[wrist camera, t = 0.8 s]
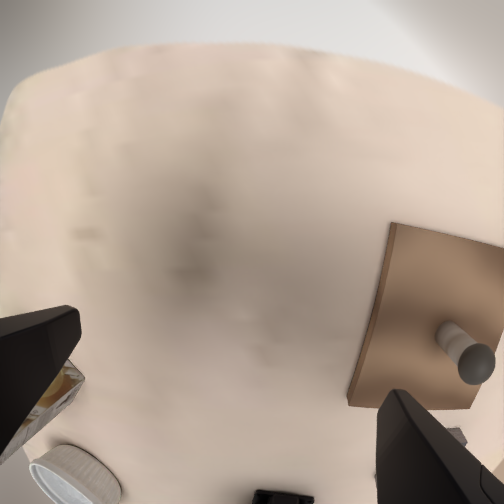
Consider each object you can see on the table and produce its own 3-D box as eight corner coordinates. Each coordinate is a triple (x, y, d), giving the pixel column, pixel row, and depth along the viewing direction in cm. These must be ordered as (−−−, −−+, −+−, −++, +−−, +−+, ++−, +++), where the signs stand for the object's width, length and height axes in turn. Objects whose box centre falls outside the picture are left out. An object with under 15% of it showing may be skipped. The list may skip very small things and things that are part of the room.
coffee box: (23, 349, 28) (-70, 401, 12) (34, 316, 27) (-77, 368, 11) (72, 404, 28) (-14, 478, 12) (88, 378, 26) (-16, 462, 11)
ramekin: (120, 461, 28) (94, 496, 21) (136, 510, 30) (118, 539, 24) (45, 423, 30) (16, 447, 23) (68, 477, 32) (46, 500, 26)
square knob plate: (463, 400, 20) (497, 452, 13) (346, 395, 22) (357, 463, 14) (512, 251, 18) (574, 269, 10) (391, 222, 20) (436, 231, 12)
